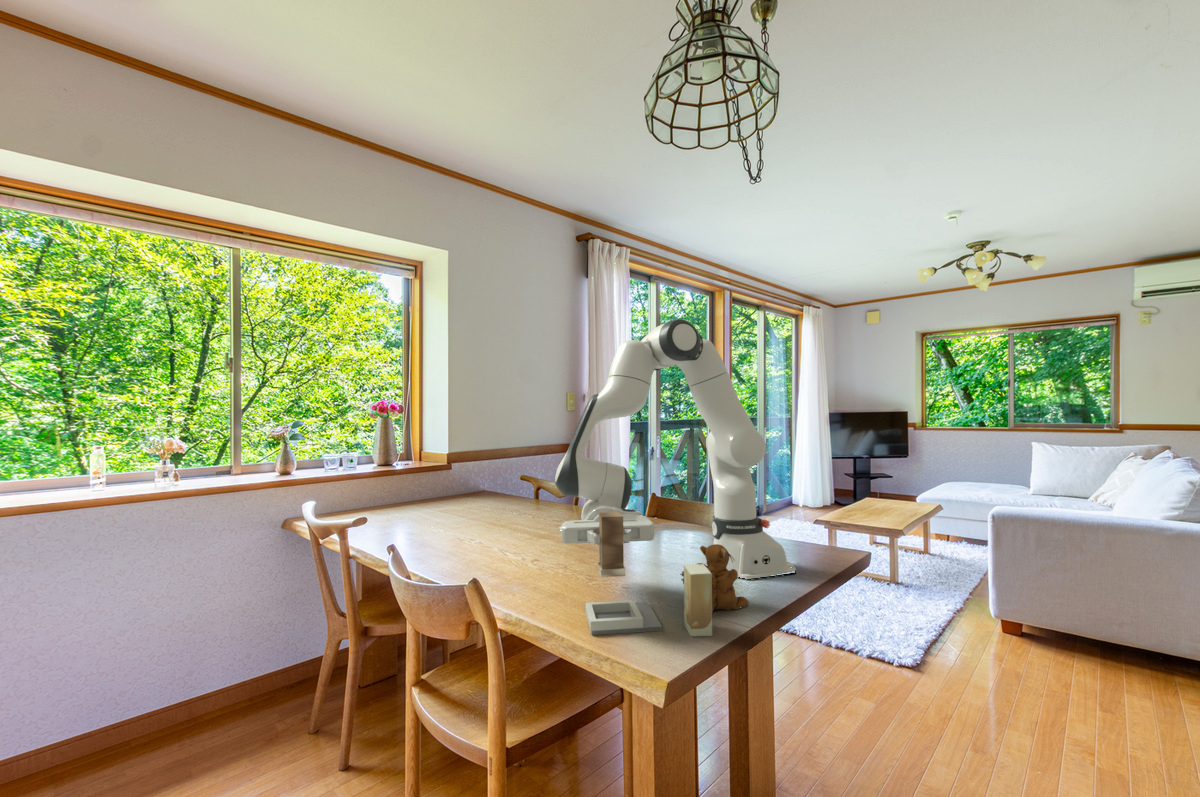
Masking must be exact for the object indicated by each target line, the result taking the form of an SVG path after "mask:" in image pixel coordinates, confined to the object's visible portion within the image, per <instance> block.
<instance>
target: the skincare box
mask: <svg viewBox="0 0 1200 797" xmlns="http://www.w3.org/2000/svg"><path fill="white" fill-rule="evenodd" d="M704 564H705V563H702V564H683V571H684V577H683V578H684V584H683V625H684V627H685V629H686V631H687V632H688V634H689V636H690V637H693V638H694V637H712V636H713V611H712V574H711V572H710V571H709V570H708V568H706V566H705V565H706V564H705V565H704Z"/></svg>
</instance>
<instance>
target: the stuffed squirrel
mask: <svg viewBox="0 0 1200 797" xmlns="http://www.w3.org/2000/svg"><path fill="white" fill-rule="evenodd" d="M699 550H700V551H701V553H702V554H703V555H704V556H705V559H706V563H702V562H697V564H704V565H705V566H706V568H708V570H709V571H710V572H711V574H712V612H713V611H714V610H720V609H735V610H738V609H737V608H739V609H741V608H740V607H742V608H745V607H747V606H748V605H749V600H748V598H746V597H744V596H737V595H736V590H735V587H734V582H735V581H736V580H737V579H738V578H739V577H738V573H737V571H736V570H735V569H732V570H730V571H729V570H727V568H726V567H727V565H728V561H729V557H730V558H731V557H732V556H731V555H730V554H729V553H728V551H727V550H726V548H725V547H724V546H722V545H719V544H714V545H713V544H711V545H708V546H705V545H701V546H700V547H699ZM732 558H733V557H732ZM732 558H731V560H732ZM733 560H734V558H733ZM734 561H735V560H734ZM732 562H733V561H732ZM679 575H680V576H682V578H681V579H680V580H681V581H682V583H683V584H682V585H684V570H683V571H682V572H681V573H680V574H679ZM746 605H747V606H746ZM744 606H745V607H744Z"/></svg>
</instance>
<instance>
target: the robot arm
mask: <svg viewBox="0 0 1200 797" xmlns="http://www.w3.org/2000/svg"><path fill="white" fill-rule="evenodd" d="M675 366H677V367H678V368H679V369H680V370H681V371H682V373H683V375H684V377H685V380H686V383H687V385H688V388H689V391H690V393H691V397H692V398H693V400H694V401H693V402H694V403H695V406H696V408H697V411H698V413H699V415H700V416H701V417H702V419H703V420H704V422H705V424H706V426H707V427H708V429H709V430H710V431H709V432H708V434H707V435H706V439H705V447H706V450H707V454H708V460H709V467H710V473H711V478H712V484H713V485H712V486H713V510H714V511H713V512H714V514H713V516H712V524H711V526H712V536H713V544H712V545H714V544H719V545H722V546H724V547H725V548H726V550H727V551H728V553H729V554H730V555H731V556H732V557H733V558H734V560H735V561H734V560H733V558H732V557H731V558H732V560H731V558H730V557H729V561H728V565H727V567H726V568H727V570H729V571H730V570H732V569H735V570H736V571H737V573H738V577H737V578H739V577H740V579H742V578H745V579H744V580H747V579H751V578H758V577H765V576H771V575H777V574H782V573H787V572H792V571H795V570H796V571H797V568H796V567H795V565H794V564H793V563H791V562H789V561H788V559H787V554H786V551H785V548H784V547H783V546H782V544H781V543H779V542H778V541H777V540H776V539H775V538H773V537H772V536H771V535H769V534H768V533H767V532H766V531H764V529H768V528H770V527H771V522H770V521H769V520H766V519H762V518H760V517H758V516H757V494H756V493H757V492H756V490H757V489H756V485H755V483H754V481H753V477H752V473H751V469H750V467H753V466H756V465H757V464H759V463H760V462H761V461H762V460H763V459H764V457H765V455H766V451H767V445H766V441H765V439H764V437H763V435H761V433H760V432H759V431H758V430H757V428H756V426H755V424H754V422H752V419H751V418H750V417H749V415H748V412H747V411H746V410H745V408H744V407H743V404H742V402H741V401H740V399H739V398H738V395H737V392H736V390H735V387H734V384H733V382H732V379H731V377H730V375H729V372H728V370H727V367H726V365H725V362H724V361H723V358H722V356H721V355H720V353H719V351H718V350H717V348H716V347H715V345H714V343H713V342H712V341H711V340H709V339H707V338H703V337H702V335H701V334H700V333H699V331H698V328H696V327H695V326H694V325H693V323H691V322H690V321H689V320H686V319H682V318H681V319H680V318H679V319H678V318H677V319H671V320H668V321H667V322H665V323H662V324H660V325H658V326H656V327H654V328H653V329H652V330H651V331H650V332H648V333H646V334H645V335H643V336H642V337H641V338H640V339H639V340H637V339H630V340H628V339H627V340H626V341H623V342H621V343H620V344H619V345H618V347H617V349H616V351H615V353H614V356H613V359H612V362H611V365H610V369H609V372H608V376H607V380H606V383H605V385H604V387H603V388H602V390H601V391H600V392H599V393H595V394H592V396H590V398H589V401H588V402H587V404H586V406H585V408H584V410H583V413H582V414H581V416H580V419H579V421H578V423H577V426H576V428H575V430H574V432H573V435H572V438H571V439H570V442H569V444H568V448H567V450H566V452H565V453H564V454H565V455H564V456H563V458H562V459H561V461H560V463H559V464H558V466H557V469H556V472H555V476H554V485H555V486H556V488H557V490H558V491H559V492H560V493H561V494H562V496H564V497H570V498H571V497H572V498H577V499H578V498H580V499H585V500H586V502H585V503H584V504H583V507H582V510H581V515H580V517H581V518H580V519H581V520H575V519H574V520H565V521H564V522H563V523H562V524H561V525H560V526H559V527H558V531H559V533H560V534H561V543H562V544H566V545H571V544H573V545H575V544H593V545H597V546H599V544H601V535H600V534H599V513H612V512H620V513H621V514H622V516H623V544H629V543H630V542H650V541H653V540H654V538H655V524H654V522H653V521H652V520H651V519H650V518H648V516H645V515H642V512H641V510H638V509H628V508H627V507H628V505H629V502H630V499H631V495H632V484H633V483H632V479H631V478H632V477H631V475H630V473H629V471H628V470H627V468H626V467H625V466H624V465H618V464H614V463H610V462H604V461H599V460H595V459H591V458H587V457H585V456H584V453H585V451H586V448H587V446H588V443H589V440H590V438H591V436H592V433H593V431H594V429H595V427H596V426H597V425H598V423H601V422H603V421H606V420H611V419H617V418H626V417H629V416H633V415H634V414H637V413H638V412H640V411H641V410H642V409H643V408H644V406H646V403H647V400H648V397H649V394H650V388H651V384H652V379H653V378H652V377H653V374H654V371H661V370H663V369H667V368H671V367H675ZM763 528H764V529H763ZM732 561H733V562H732ZM790 567H792V568H790ZM751 580H752V579H751Z"/></svg>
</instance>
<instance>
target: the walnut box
mask: <svg viewBox="0 0 1200 797" xmlns="http://www.w3.org/2000/svg"><path fill="white" fill-rule="evenodd" d="M599 534H600V535H601V544H599V545H598V546H599V562H597V571H598V573H599V576H600V578H611V577H612V578H613V577H626V567H625V565H624V560H625V559H624V543H623V516H622V514H621V513H620V512H612V513H599Z"/></svg>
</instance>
